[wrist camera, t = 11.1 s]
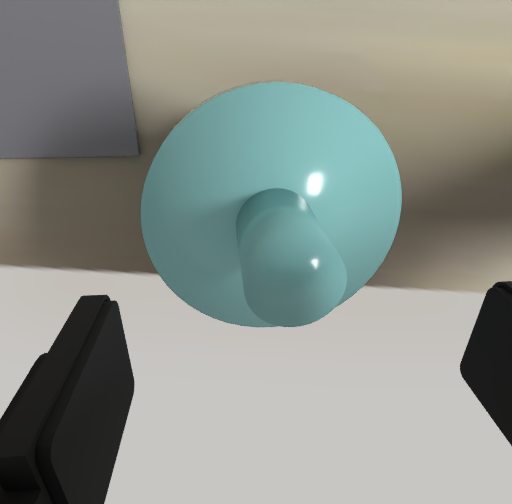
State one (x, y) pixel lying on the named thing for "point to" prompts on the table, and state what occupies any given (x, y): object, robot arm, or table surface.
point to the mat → (64, 80)
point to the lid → (270, 204)
